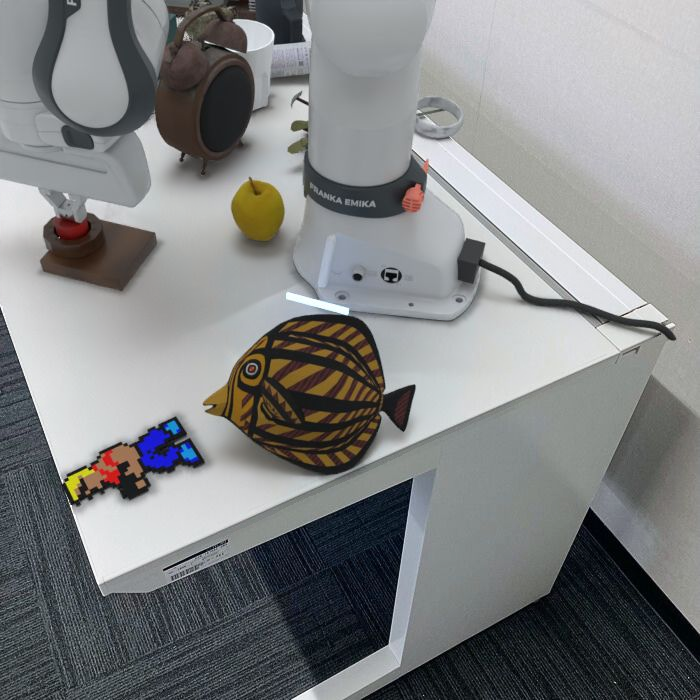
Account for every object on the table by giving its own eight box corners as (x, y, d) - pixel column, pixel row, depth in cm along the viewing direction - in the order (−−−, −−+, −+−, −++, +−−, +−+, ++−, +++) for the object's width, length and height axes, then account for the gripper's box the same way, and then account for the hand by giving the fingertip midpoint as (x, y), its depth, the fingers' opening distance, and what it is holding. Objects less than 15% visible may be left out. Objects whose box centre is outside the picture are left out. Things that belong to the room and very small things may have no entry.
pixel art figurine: (176, 418, 75) (56, 474, 70) (176, 416, 75) (55, 472, 70) (204, 462, 72) (80, 524, 67) (204, 460, 72) (79, 522, 67)
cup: (278, 84, 120) (277, 21, 112) (272, 118, 113) (270, 53, 106) (213, 80, 120) (208, 17, 112) (204, 114, 113) (197, 49, 106)
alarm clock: (203, 191, 101) (187, 43, 86) (159, 173, 103) (136, 25, 88) (266, 140, 109) (261, -2, 95) (224, 124, 112) (213, -17, 97)
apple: (240, 216, 97) (236, 162, 91) (290, 223, 97) (289, 169, 91) (227, 249, 93) (222, 194, 87) (279, 256, 93) (278, 202, 87)
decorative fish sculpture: (322, 523, 68) (246, 492, 76) (425, 404, 76) (346, 387, 84) (248, 406, 61) (173, 386, 70) (369, 288, 69) (289, 283, 77)
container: (322, 34, 120) (226, 43, 119) (326, 49, 117) (227, 59, 116) (324, 62, 123) (230, 71, 122) (327, 78, 120) (231, 87, 119)
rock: (216, -15, 132) (167, -3, 126) (249, 2, 127) (200, 16, 122) (217, 18, 135) (170, 31, 130) (250, 35, 131) (203, 50, 126)
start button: (95, 225, 90) (92, 213, 89) (79, 243, 88) (75, 231, 86) (67, 218, 91) (64, 206, 89) (50, 236, 88) (47, 224, 87)
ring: (403, 117, 111) (401, 129, 112) (456, 134, 110) (453, 145, 111) (419, 88, 116) (417, 99, 117) (471, 104, 114) (468, 115, 116)
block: (157, 243, 93) (153, 220, 91) (121, 291, 87) (116, 268, 85) (73, 223, 95) (67, 200, 92) (33, 269, 89) (25, 245, 86)
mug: (244, 42, 128) (240, -27, 120) (295, 34, 131) (295, -34, 123) (270, 76, 121) (268, 4, 113) (323, 67, 124) (325, -4, 116)
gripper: (-69, 104, 77) (-25, 215, 87) (116, 142, 74) (140, 253, 84) (-31, 74, 81) (7, 184, 91) (146, 109, 78) (165, 219, 88)
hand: (72, 217), depth 88 cm, fingers closed
